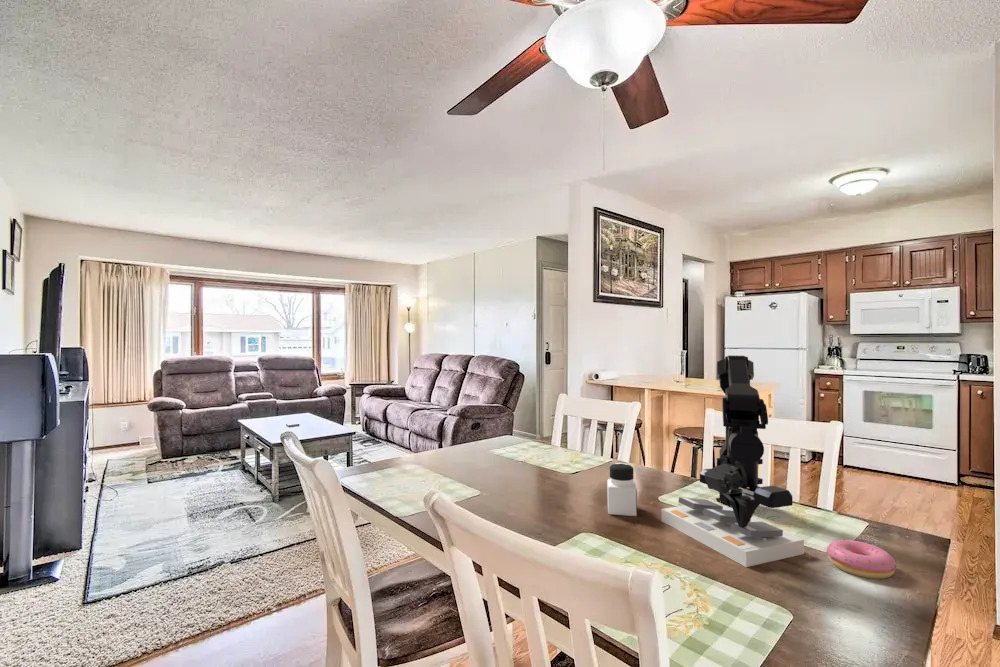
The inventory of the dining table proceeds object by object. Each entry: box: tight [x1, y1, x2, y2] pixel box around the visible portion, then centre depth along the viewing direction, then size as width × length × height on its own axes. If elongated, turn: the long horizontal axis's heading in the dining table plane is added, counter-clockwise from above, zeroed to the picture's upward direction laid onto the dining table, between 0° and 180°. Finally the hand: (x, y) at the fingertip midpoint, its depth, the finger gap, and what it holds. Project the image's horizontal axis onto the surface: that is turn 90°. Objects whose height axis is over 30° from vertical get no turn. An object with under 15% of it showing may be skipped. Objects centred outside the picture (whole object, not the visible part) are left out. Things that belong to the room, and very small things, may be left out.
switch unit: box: [660, 500, 805, 568], centre depth 107 cm, size 16×25×4 cm, turn 20°
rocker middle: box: [703, 508, 751, 523], centre depth 107 cm, size 9×5×1 cm, turn 110°
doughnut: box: [826, 538, 898, 580], centre depth 93 cm, size 11×11×4 cm
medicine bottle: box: [606, 462, 638, 517], centre depth 123 cm, size 7×7×12 cm
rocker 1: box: [678, 496, 724, 510], centre depth 115 cm, size 9×5×1 cm, turn 110°
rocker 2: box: [731, 521, 784, 538], centre depth 100 cm, size 9×5×1 cm, turn 110°
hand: (742, 527), depth 98 cm, fingers closed, pressing on rocker 2
